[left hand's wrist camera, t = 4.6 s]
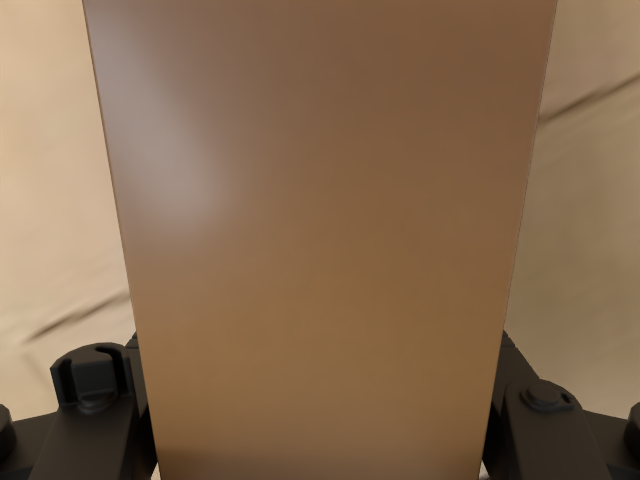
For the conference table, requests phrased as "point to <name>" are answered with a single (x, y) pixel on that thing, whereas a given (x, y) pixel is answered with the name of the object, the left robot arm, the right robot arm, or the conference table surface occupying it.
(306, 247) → the bar
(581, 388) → the conference table surface
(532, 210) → the conference table surface
